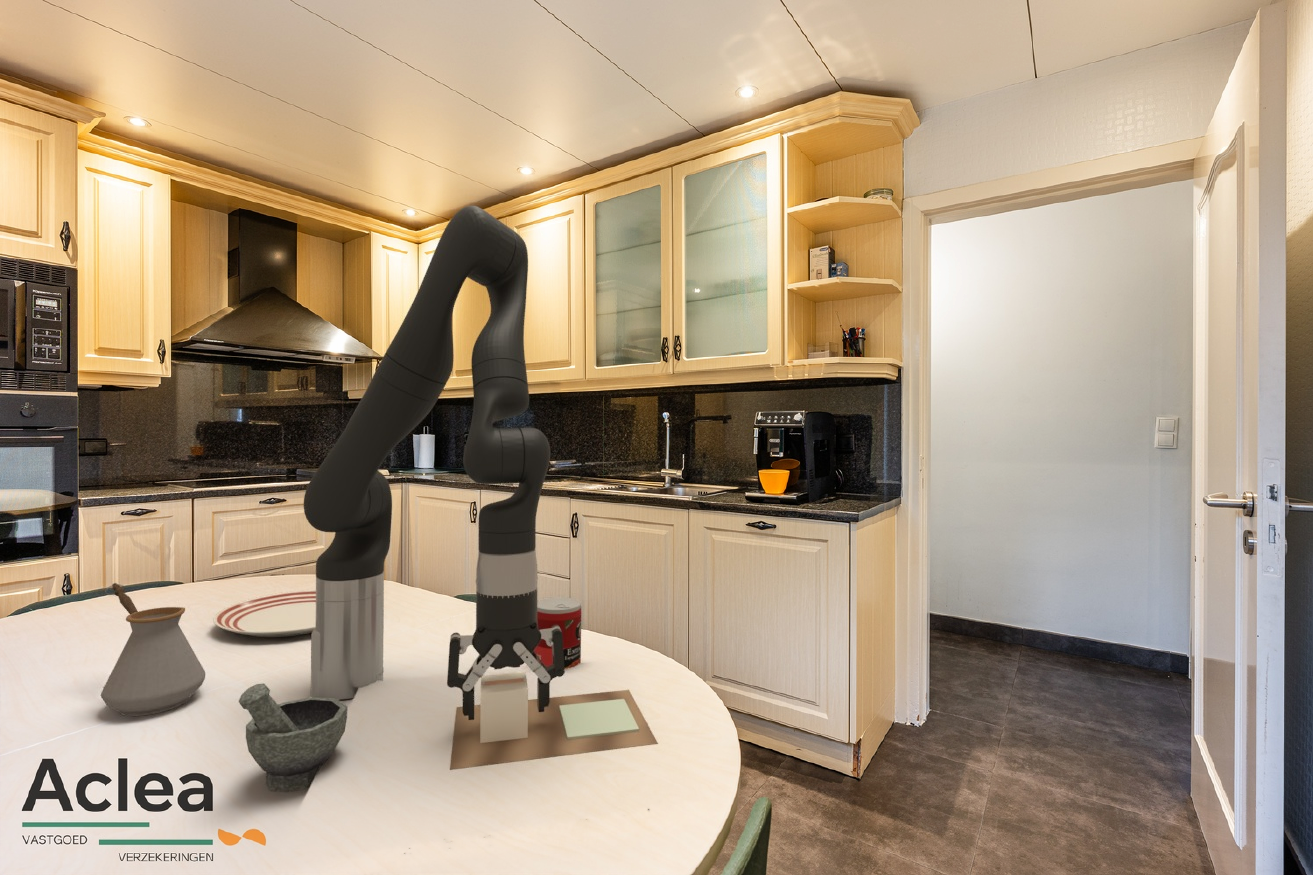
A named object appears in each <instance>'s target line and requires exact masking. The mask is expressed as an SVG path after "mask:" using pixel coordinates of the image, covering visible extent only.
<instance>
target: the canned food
mask: <svg viewBox="0 0 1313 875" xmlns="http://www.w3.org/2000/svg"><path fill="white" fill-rule="evenodd" d="M537 625H538V628H539V629H540V630H542V629H549V628H552V626H553V625H558V626H559V627H560V629H561V631H562V634H563V652H564V669H565V670H566V669H571V668H574V667H575V666H578V665H579V664H582V663H581V662H582V661H581V660H582V658H581V656H582V602H581V601H580V600H578V599H575V598H572V597H566V596H553V597H545V598H541V599H537ZM534 652H535V653H536V654H537V655H538V657H539V658H540V660H541V661H542V662H543V663H544V665H545V666H546V667H548V666H550V665H552V664H553V656H552V646H548V645H547V643H546V640H544V639H541V640H540V642H539V644H538V645H537V647H536V648H535V649H534Z"/></svg>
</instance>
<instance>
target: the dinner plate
mask: <svg viewBox="0 0 1313 875" xmlns="http://www.w3.org/2000/svg"><path fill="white" fill-rule="evenodd" d="M212 621H213V623H214V625H215V626H217V627H219V628H221V629H223V630H224V631H225V630H226V631H228V632H232V633H235V634H241V635H248V636H252V637H259V638H282V637H285V638H286V637H293V636H295V637H296V636H300V635H301V636H302V635H307V634H312V632H313V631H314V629H315V628H316V589H310V590H309V589H307V590H306V589H305V590H295V591H289V592H288V591H286V592H279V593H274V594H267V595H264V596H263V595H262V596H259V597H254V598H250V599H247V600H243V601H240V602H237V603H234V604H231V605H229V606H227V607H225V608H223V609H221V610H219V611H218V612H216V613H215V614H214V616H213V618H212Z"/></svg>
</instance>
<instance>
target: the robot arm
mask: <svg viewBox="0 0 1313 875" xmlns="http://www.w3.org/2000/svg"><path fill="white" fill-rule="evenodd" d="M433 252H434V253H433V255H432V257H431V260H430V262H429V264H428V267H427V269H426V271H425V274H424V276H423V278H422V281H421V283H420V285H419V289H418V291H417V293H416V295H415V296H414V299H413V301H412V304H411V305H410V307H409V310H408V312H407V313H406V316H404V319H403V320H402V323H401V324H400V327H399V329H398V330H397V331H396V334H395V336H394V337H393V339H392V341H391V343H390V344H389V346H388V348H387V349H386V351H385V353H384V354H383V356H382V359H381V360H380V362H379V364H378V366H377V368H376V369H375V371H374V374H373V376H372V378H371V380H370V382H369V384H368V387H367V389H366V390H365V391H364V394H363V395H362V397H361V399H360V400H359V402H358V404H357V405H356V408H355V410H354V411H353V414H352V415H351V417H350V419H349V421H348V422H347V424H346V426H345V428H344V429H343V432H342V433H341V435H340V437H339V438H338V439H337V441H336V443H335V444H334V445H333V447H332V448H331V450H330V451H329V453H328V454H327V456H326V457H325V458H324V459H323V462H322V463H321V464H320V465H319V467H318V469H317V470H316V471H315V473H314V474H313V476H312V477H311V479H310V481H309V483H308V484H307V486H306V489H305V492H304V493H305V494H304V497H303V512H304V515H305V518H306V521H307V522H308V523H309V525H311V527H313V528H314V529H315V530H318V531H320V532H323V533H335V534H334V536H333V539H332V541H331V543H330V545H329V546H328V547H327V548H326V550H325V549H324V551H323V552H322V553H321V554H320V555H319V556H318V558H316V563H315V590H316V628H315V629H314V631H313V632H312V633H310V634H311V636H310V698H311V697H318V698H335V699H338V700H339V701H341V700H348V699H354V698H355V697H356V695H357V693H358V691H359V689H360V688H364V687H368V686H369V685H372V684H374V683H376V682H379V681H380V682H381V681H384V631H385V630H384V629H385V628H384V625H385V624H384V619H385V618H384V617H385V616H384V615H385V614H384V612H385V611H384V610H385V609H384V608H385V605H384V603H385V598H384V596H385V592H384V590H385V560H386V558H387V555H388V553H389V551H390V546H391V534H392V520H393V518H392V517H393V516H392V515H393V514H392V513H393V496H392V491H391V487H390V483H389V481H388V480H387V478H386V476H385V475H384V474H383V473H382V472H381V471H379V469H380V467H381V465H382V463H383V462H384V461H385V459H386V458H387V456H388V455H389V454H390V453H391V451H392V450H394V448H395V447H397V445H398V444H399V443H400V442H401V441H403V440H404V439H405V438H406V437H407V436H408V435H410V433H412V432H413V430H414V429H415V428H416V427H417V426H418V425H419V424H421V423H422V422H423V420H425V418H426V417H427V415H429V414H430V412H431V411H432V410H433V408H434V406H435V405H436V403H437V401H438V400H439V398H440V395H441V394H442V392H443V390H444V388H445V387H446V385H447V383H448V381H449V379H450V377H451V375H452V373H453V368H454V358H455V357H454V338H453V336H454V335H453V312H454V309H455V308H454V307H455V304H456V301H457V299H458V297H459V295H460V291H461V288H462V287H463V284H464V283H465V281H466V279H467V278H468V279H470V280H472V281H473V282H475V283H477V284H479V285H480V286H482V287H485V288H486V291H487V294H488V298H489V303H490V314H489V317H488V320H487V322H486V323H485V324H484V326H483V328H482V329H481V331H480V333H479V334H478V336H477V338H476V340H475V342H474V345H473V349H472V353H471V377H472V379H471V380H472V389H473V411H472V417H471V423H470V427H469V430H468V435H467V438H466V442H465V447H464V452H463V460H462V461H463V468H464V471H465V473H466V474H467V476H468V477H469V478H470V479H471V481H473V482H474V483H477V484H482V485H492V484H493V485H495V484H496V485H498V484H518V486H517V489H516V490H515V492H514V493H513V494H512V495H511V496H510V497H508V498H506V499H503V500H499V501H494V502H491V503H488V504H486V505H483V506H482V507H481V508H480V510H479V513H478V528H477V529H478V532H477V533H478V539H477V540H478V554H477V562H476V569H475V570H476V573H475V574H476V576H475V592H476V594H475V601H476V602H475V607H476V608H475V631H474V633H473V634H472V635H471V634H470V635H469V634H468V635H467V634H466V635H464V634H463V635H461V634H460V633H459V632H453V633H452V634H451V635H450V638H449V645H448V646H449V650H448V663H447V676H446V678H447V680H446V684H447V687H449V688H458V689H460V690H461V693H462V706H463V714H464V716H468V720H474V705H475V685H476V684H477V682H478V681H479V680H480V679H481V677H482V676H483V675H485V673H486V672H487V670H488V669H489V668H493V669H494V670H495V671H496V670H501V669H504V668H521V666H523V665H526V666H527V667H528V669H529V670H530V671H532V673H534V674H535V676H536V677H537V678H536V679H537V684H536V685H537V686H536V687H537V690H536V691H537V692H536V699H537V706H538V712H544V707H548V705H549V703H550V698H551V697H550V693H551V692H550V688H551V687H550V686H551V685H550V684H551V681H552V680H553V679H555V678H557V677H558V678H560V677H561V678H562V677H563V676H564V675H565V670H566V669H564V652H563V634H562V631H561V629H560V627H559V626H558V625H553V626H552V628H549V629H542V630H540V629H539V628H538V625H537V600H538V580H539V579H538V560H537V551H536V548H537V547H536V546H537V545H536V539H537V538H536V536H537V534H536V533H537V532H536V530H537V529H536V526H537V524H536V521H537V513H538V507H539V506H538V505H539V501H540V497H541V493H542V489H543V486H544V482H545V480H546V476H547V473H548V470H549V467H550V466H549V464H550V460H551V446H550V443H549V440H548V438H547V437H546V435H545V434H544V433H543V432H542V431H541V430H540V429H538V428H535V427H494V426H493V424H494V423H495V422H499V421H502V420H507V419H510V418H515V417H517V416H520V415H522V414H523V413H525V412H526V410H528V408H529V406H530V393H529V392H530V391H529V382H528V375H527V373H528V372H527V367H526V366H527V364H526V358H525V345H524V344H525V341H524V339H525V338H524V337H525V336H524V335H525V334H524V333H525V320H526V319H525V316H526V305H527V304H526V303H527V290H528V289H527V288H528V276H529V274H528V272H529V254H528V248H527V245H526V241H525V240H524V239H523V238H522V236H521V235H520V234H518V232H516V231H515V230H514V229H513V228H511V227H509V226H508V225H506V224H505V223H503V222H502V221H501V220H499V219H497V218H496V217H495V216H493V215H492V214H490V213H489V212H487V211H486V210H485V209H483V208H481V207H479V206H477V205H466V206H464V207H463V208H461V209H459V210H458V211H457V212H456V213H455V214H454V215H453V216H452V217H451V219H450V220H449V222H448V223H447V225H446V226H445V228H444V230H443V232H442V234H441V236H440V238H439V240H438V242H437V246H436V248H435V250H434V251H433ZM541 639H544V640H546V643H547V645H548V646H552V656H553V664H552V665H550V666H548V667H546V666H545V665H544V663H543V662H542V661H541V660H540V658H539V657H538V655H537V654H536V653H535V652H534V649H535V648H536V647H537V645H538V644H539V642H540V640H541ZM470 646H472V647H473V649H474V650H475V651H476V652H477V653H478V655H477V657H476V659H475V660H474V661H473V663H472V664H471V667H470V668H469V669H468V671H467V672H466V673H465V674H464V673H459V666H460V655H464V654H466V652H467V649H468V647H470Z"/></svg>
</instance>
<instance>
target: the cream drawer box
mask: <svg viewBox="0 0 1313 875" xmlns="http://www.w3.org/2000/svg"><path fill="white" fill-rule="evenodd" d="M528 687H529V686H528V678H527V673H526V671H521V672H507V673H499V674H498V673H497V674H484V675H483V676H482V677H480V705H481V718H480V743H485V742H494V741H503V740H511V739H520V738H528V700H529V688H528Z"/></svg>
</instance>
